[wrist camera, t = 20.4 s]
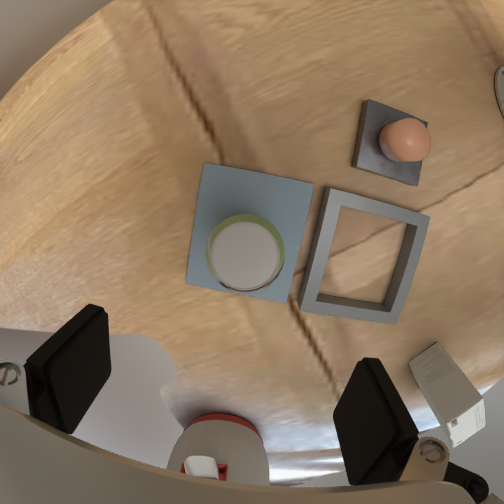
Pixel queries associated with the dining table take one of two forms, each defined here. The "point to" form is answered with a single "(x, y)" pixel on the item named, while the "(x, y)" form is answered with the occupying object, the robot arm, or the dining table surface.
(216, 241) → the beverage can
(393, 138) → the button
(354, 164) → the button base
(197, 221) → the mat
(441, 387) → the skincare box
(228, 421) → the citrus juicer
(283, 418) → the dining table surface
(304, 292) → the frame
